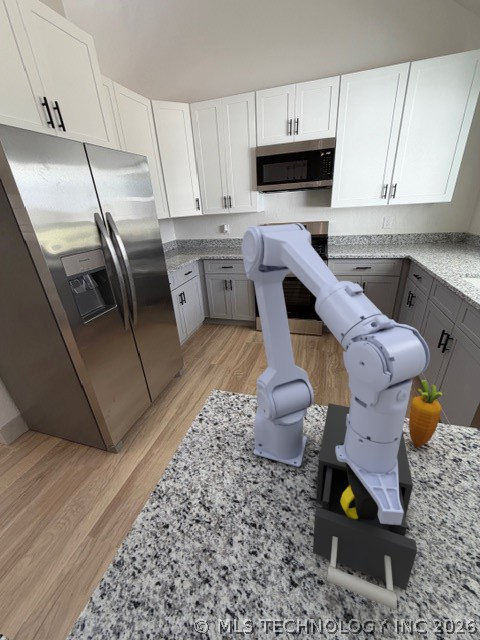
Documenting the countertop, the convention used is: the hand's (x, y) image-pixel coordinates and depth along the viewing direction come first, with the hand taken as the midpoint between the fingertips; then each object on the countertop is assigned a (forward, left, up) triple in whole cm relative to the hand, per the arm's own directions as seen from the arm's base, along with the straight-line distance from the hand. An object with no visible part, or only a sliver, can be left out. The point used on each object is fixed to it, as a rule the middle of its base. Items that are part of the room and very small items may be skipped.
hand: (361, 504), depth 37 cm
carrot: (+11, +23, -8) cm, 26 cm away
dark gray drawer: (0, 0, -7) cm, 7 cm away
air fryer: (0, +11, -8) cm, 14 cm away
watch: (0, 0, -2) cm, 2 cm away
